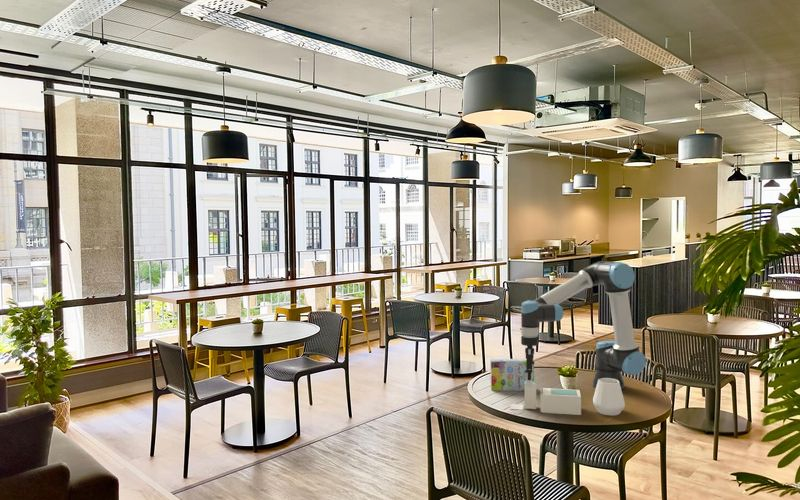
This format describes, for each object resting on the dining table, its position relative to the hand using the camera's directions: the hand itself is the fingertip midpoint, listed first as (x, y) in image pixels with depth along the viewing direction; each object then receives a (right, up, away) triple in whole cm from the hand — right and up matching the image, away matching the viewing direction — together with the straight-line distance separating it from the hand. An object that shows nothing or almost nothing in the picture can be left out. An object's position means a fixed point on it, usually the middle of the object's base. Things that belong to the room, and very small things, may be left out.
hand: (529, 382), depth 251 cm
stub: (+1, -12, +1) cm, 12 cm away
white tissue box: (+13, -12, -2) cm, 18 cm away
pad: (-5, -12, +2) cm, 13 cm away
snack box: (-2, -11, +29) cm, 31 cm away
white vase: (+33, -12, -6) cm, 36 cm away
